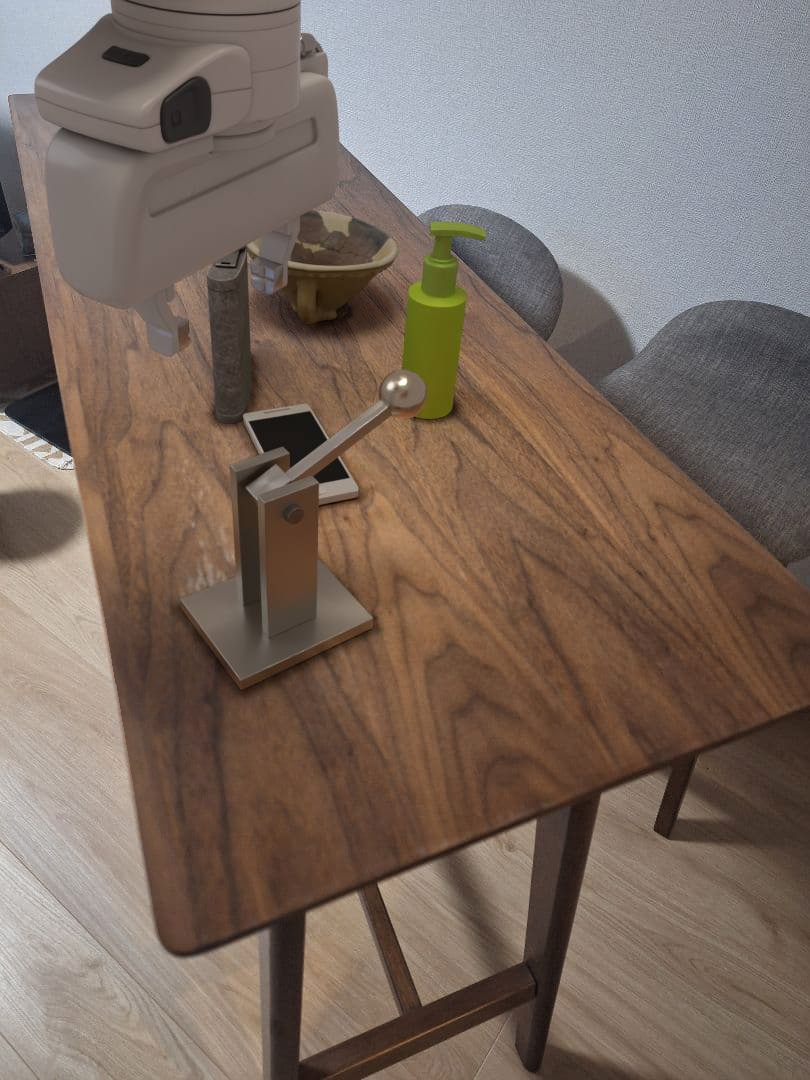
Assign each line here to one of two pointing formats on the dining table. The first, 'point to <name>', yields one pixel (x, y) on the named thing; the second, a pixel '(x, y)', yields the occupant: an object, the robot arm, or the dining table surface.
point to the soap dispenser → (437, 319)
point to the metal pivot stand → (274, 582)
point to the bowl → (332, 263)
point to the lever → (352, 430)
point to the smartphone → (300, 446)
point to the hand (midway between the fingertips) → (222, 317)
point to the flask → (230, 335)
